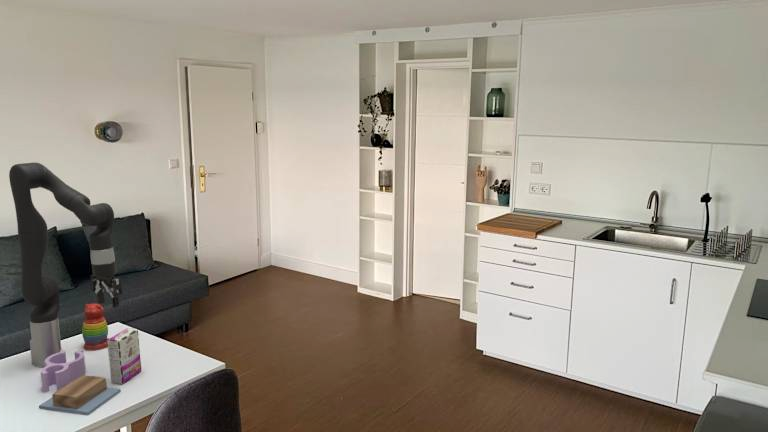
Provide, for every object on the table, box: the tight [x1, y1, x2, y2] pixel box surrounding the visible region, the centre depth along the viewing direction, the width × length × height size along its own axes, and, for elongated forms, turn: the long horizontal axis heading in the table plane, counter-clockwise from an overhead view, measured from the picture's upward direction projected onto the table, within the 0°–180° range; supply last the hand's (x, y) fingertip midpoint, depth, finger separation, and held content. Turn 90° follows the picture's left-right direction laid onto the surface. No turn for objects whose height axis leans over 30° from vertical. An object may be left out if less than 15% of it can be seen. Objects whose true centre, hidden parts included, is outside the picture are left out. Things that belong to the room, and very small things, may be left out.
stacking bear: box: [81, 303, 111, 351], centre depth 237 cm, size 11×10×18 cm
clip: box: [40, 348, 86, 393], centre depth 210 cm, size 20×12×7 cm, turn 8°
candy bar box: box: [107, 327, 142, 385], centre depth 210 cm, size 11×5×16 cm, turn 168°
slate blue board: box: [38, 386, 122, 416], centre depth 195 cm, size 18×16×1 cm
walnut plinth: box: [51, 374, 108, 409], centre depth 195 cm, size 9×14×4 cm, turn 168°
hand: (108, 305), depth 209 cm, fingers open, 8 cm apart
